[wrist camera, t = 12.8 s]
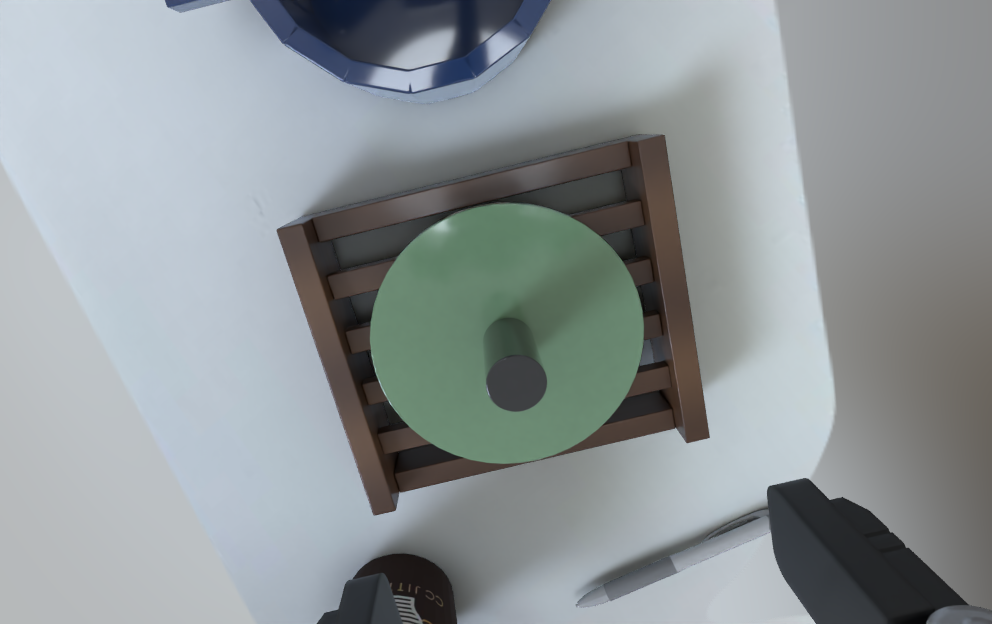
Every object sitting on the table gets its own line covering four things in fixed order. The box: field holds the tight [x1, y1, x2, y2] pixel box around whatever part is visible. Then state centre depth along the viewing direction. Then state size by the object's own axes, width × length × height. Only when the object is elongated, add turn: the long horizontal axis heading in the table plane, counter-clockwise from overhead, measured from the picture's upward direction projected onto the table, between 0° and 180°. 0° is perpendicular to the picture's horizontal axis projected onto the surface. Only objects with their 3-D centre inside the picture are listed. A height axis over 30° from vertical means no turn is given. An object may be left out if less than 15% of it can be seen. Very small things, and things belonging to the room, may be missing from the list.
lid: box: [370, 202, 644, 464], centre depth 27 cm, size 13×13×6 cm
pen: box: [576, 509, 771, 607], centre depth 37 cm, size 1×14×1 cm, turn 115°
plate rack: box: [277, 134, 710, 515], centre depth 31 cm, size 15×17×4 cm
